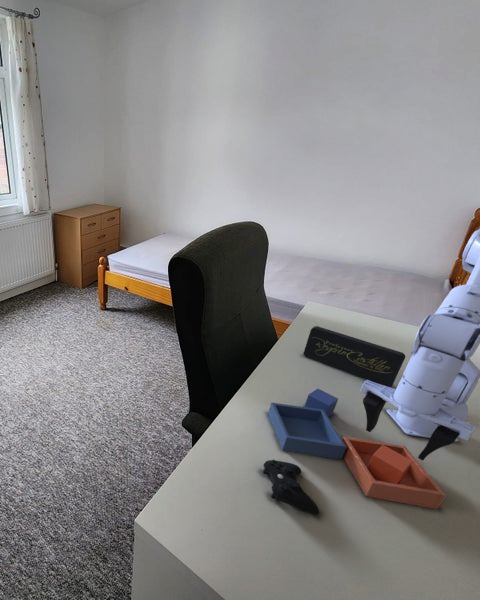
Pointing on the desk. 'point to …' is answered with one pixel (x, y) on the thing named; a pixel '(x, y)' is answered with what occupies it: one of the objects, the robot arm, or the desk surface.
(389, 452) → the terracotta block
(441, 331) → the robot arm
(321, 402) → the blue block
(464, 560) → the desk surface
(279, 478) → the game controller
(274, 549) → the desk surface
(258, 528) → the desk surface
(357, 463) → the bin
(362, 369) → the nameplate
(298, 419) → the blue bin
